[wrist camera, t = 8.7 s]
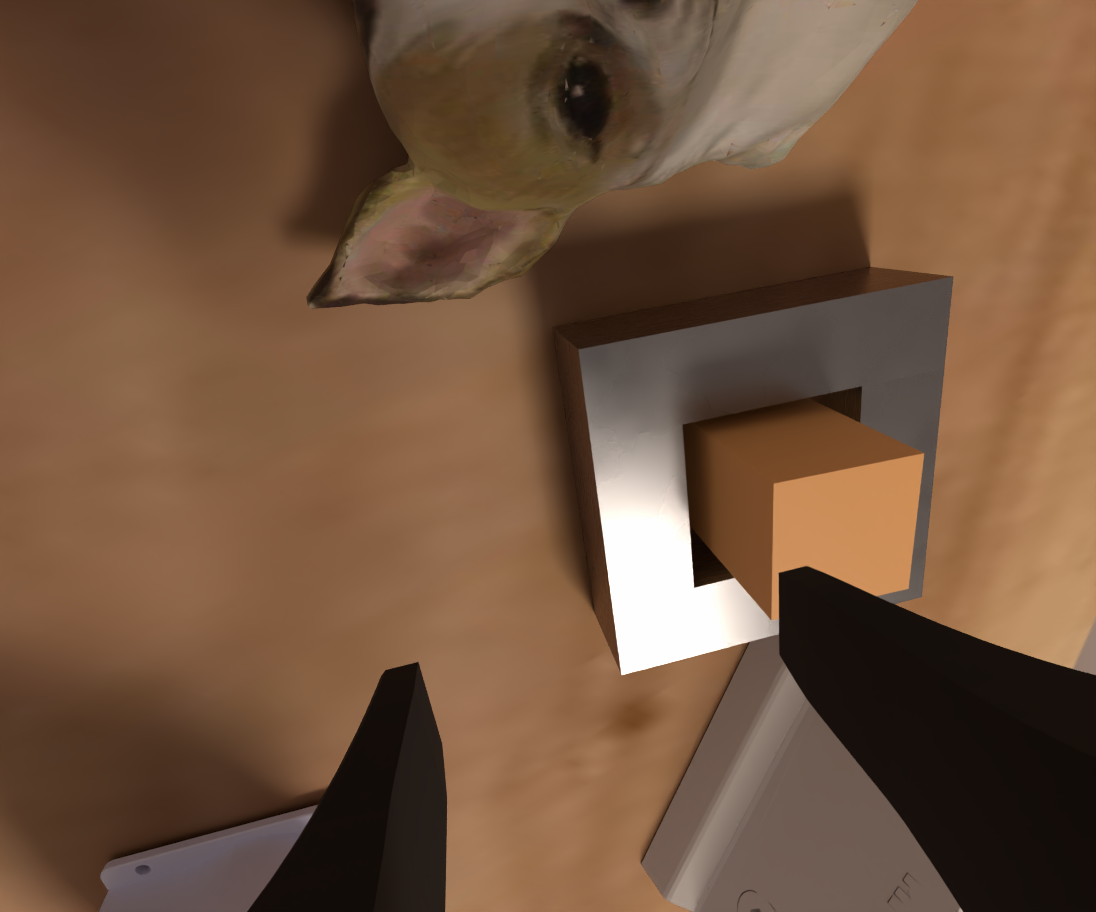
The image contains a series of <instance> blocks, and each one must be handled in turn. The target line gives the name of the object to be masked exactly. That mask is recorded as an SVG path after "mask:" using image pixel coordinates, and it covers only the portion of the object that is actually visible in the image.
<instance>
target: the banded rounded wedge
mask: <svg viewBox="0 0 1096 912" xmlns="http://www.w3.org/2000/svg"><path fill="white" fill-rule="evenodd" d="M641 865H642V866H643V868H644V869H645V871H646V872H647V874H648V875H649V877H650V878H651V880H652V881H653V883H654V884H655V886H656V887H657V889H658V890H659V892H660V893H661V895H662V896H663V897H664V898H665V899H666V900H667V901H669V902H671V903H673V904H676V905H678V906H680V907H683V908H685V909H688V910H690V911H692V912H963V911H962V909H961V908H960V906H959V905H958V903H957V902H956V900H955V898H954V897H953V895H952V894H951V892H950V891H949V889H948V887H947V886H946V884H945V883H944V881H943V880H942V878H941V876H940V875H939V873H938V872H937V870H936V869H935V867H934V866H933V864H932V863H931V862H930V860H929V859H928V857H927V856H926V854H925V853H924V851H923V850H922V848H921V847H920V845H919V844H918V842H917V841H916V839H915V838H914V836H913V835H912V833H911V832H910V830H909V829H908V827H907V826H906V824H905V823H904V821H903V820H902V819H901V817H900V816H899V815H898V813H897V812H896V811H895V809H894V808H893V807H892V805H891V804H890V803H889V801H888V800H887V799H886V797H885V796H884V795H883V794H882V792H881V791H880V790H879V789H878V787H877V786H876V785H875V784H874V783H873V781H872V780H871V779H870V778H869V776H868V775H867V774H866V773H865V771H864V770H863V769H862V768H861V766H860V765H859V764H858V763H857V762H856V760H855V759H854V758H853V757H852V755H851V754H850V753H849V752H848V750H847V749H846V748H845V747H844V745H843V744H842V743H841V742H840V741H839V739H838V738H837V737H836V736H835V734H834V733H833V732H832V731H831V729H830V728H829V727H828V726H827V724H826V723H825V722H824V721H823V719H822V718H821V717H820V716H819V714H818V713H817V712H816V711H815V709H814V708H813V707H812V705H811V704H810V703H809V702H808V700H807V699H806V697H805V696H804V694H803V693H802V691H801V689H800V688H799V686H798V685H797V683H796V682H795V680H794V678H793V677H792V675H791V673H790V672H789V670H788V668H787V667H786V665H785V663H784V662H783V660H782V658H781V657H780V655H779V634H777V635H773V636H770V637H766V638H762V639H758V640H754V641H750V643H749V645H748V647H747V649H746V651H745V653H744V655H743V657H742V659H741V661H740V663H739V665H738V667H737V669H736V671H735V673H734V676H733V678H732V680H731V682H730V684H729V686H728V688H727V690H726V692H725V694H724V696H723V698H722V700H721V702H720V704H719V706H718V708H717V710H716V712H715V714H714V716H713V718H712V720H711V722H710V725H709V727H708V729H707V731H706V733H705V735H704V737H703V739H702V741H701V743H700V745H699V747H698V749H697V751H696V753H695V755H694V757H693V759H692V761H691V763H690V765H689V767H688V769H687V771H686V774H685V776H684V778H683V780H682V782H681V784H680V786H679V788H678V790H677V792H676V794H675V796H674V798H673V800H672V802H671V804H670V806H669V808H668V810H667V812H666V814H665V816H664V818H663V820H662V823H661V825H660V827H659V829H658V831H657V833H656V835H655V837H654V839H653V841H652V843H651V845H650V847H649V849H648V851H647V853H646V855H645V857H644V859H643V861H642V863H641Z"/></svg>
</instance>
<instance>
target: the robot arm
mask: <svg viewBox="0 0 1096 912" xmlns="http://www.w3.org/2000/svg"><path fill="white" fill-rule="evenodd" d="M779 655H780V657H781V658H782V660H783V662H784V663H785V665H786V667H787V668H788V670H789V672H790V673H791V675H792V677H793V678H794V680H795V682H796V683H797V685H798V686H799V688H800V689H801V691H802V693H803V694H804V696H805V697H806V699H807V700H808V702H809V703H810V704H811V705H812V707H813V708H814V709H815V711H816V712H817V713H818V714H819V716H820V717H821V718H822V719H823V721H824V722H825V723H826V724H827V726H828V727H829V728H830V729H831V731H832V732H833V733H834V734H835V736H836V737H837V738H838V739H839V741H840V742H841V743H842V744H843V745H844V747H845V748H846V749H847V750H848V752H849V753H850V754H851V755H852V757H853V758H854V759H855V760H856V762H857V763H858V764H859V765H860V766H861V768H862V769H863V770H864V771H865V773H866V774H867V775H868V776H869V778H870V779H871V780H872V781H873V783H874V784H875V785H876V786H877V787H878V789H879V790H880V791H881V792H882V794H883V795H884V796H885V797H886V799H887V800H888V801H889V803H890V804H891V805H892V807H893V808H894V809H895V811H896V812H897V813H898V815H899V816H900V817H901V819H902V820H903V821H904V823H905V824H906V826H907V827H908V829H909V830H910V832H911V833H912V835H913V836H914V838H915V839H916V841H917V842H918V844H919V845H920V847H921V848H922V850H923V851H924V853H925V854H926V856H927V857H928V859H929V860H930V862H931V863H932V864H933V866H934V867H935V869H936V870H937V872H938V873H939V875H940V876H941V878H942V880H943V881H944V883H945V884H946V886H947V887H948V889H949V891H950V892H951V894H952V895H953V897H954V898H955V900H956V902H957V903H958V905H959V906H960V908H961V909H962V911H963V912H1096V675H1092V674H1089V673H1085V672H1081V671H1077V670H1074V669H1070V668H1067V667H1063V666H1060V665H1056V664H1053V663H1050V662H1046V661H1043V660H1040V659H1037V658H1034V657H1031V656H1028V655H1025V654H1022V653H1019V652H1015V651H1012V650H1009V649H1006V648H1003V647H1000V646H997V645H995V644H992V643H989V642H986V641H983V640H981V639H978V638H975V637H973V636H970V635H968V634H965V633H962V632H960V631H957V630H955V629H952V628H950V627H947V626H944V625H942V624H939V623H937V622H935V621H932V620H930V619H927V618H925V617H922V616H920V615H918V614H915V613H913V612H911V611H908V610H906V609H904V608H902V607H899V606H897V605H895V604H893V603H890V602H888V601H886V600H884V599H881V598H879V597H877V596H875V595H873V594H870V593H868V592H866V591H864V590H862V589H859V588H857V587H855V586H853V585H851V584H848V583H846V582H844V581H842V580H840V579H837V578H835V577H833V576H831V575H828V574H826V573H824V572H821V571H819V570H816V569H814V568H811V567H809V566H804V567H800V568H796V569H792V570H788V571H784V572H780V573H779ZM446 837H447V792H446V780H445V769H444V759H443V748H442V742H441V738H440V735H439V731H438V728H437V725H436V721H435V718H434V714H433V711H432V707H431V704H430V701H429V697H428V694H427V690H426V687H425V683H424V680H423V676H422V673H421V670H420V666H419V663H418V662H417V663H413V664H409V665H405V666H400V667H396V668H392V669H388V670H385V672H384V673H383V674H382V676H381V678H380V680H379V683H378V685H377V688H376V690H375V692H374V695H373V697H372V699H371V702H370V704H369V706H368V708H367V711H366V713H365V715H364V717H363V719H362V722H361V724H360V726H359V728H358V730H357V732H356V734H355V736H354V738H353V740H352V742H351V744H350V746H349V748H348V750H347V752H346V754H345V756H344V758H343V760H342V762H341V764H340V766H339V768H338V770H337V772H336V774H335V776H334V777H333V779H332V781H331V783H330V785H329V786H328V788H327V790H326V792H325V793H324V795H323V797H322V799H321V800H320V802H319V804H318V805H315V806H311V807H307V808H304V809H300V810H296V811H292V812H289V813H285V814H281V815H278V816H274V817H270V818H266V819H263V820H259V821H255V822H252V823H248V824H244V825H240V826H237V827H233V828H229V829H226V830H222V831H218V832H215V833H211V834H207V835H203V836H200V837H196V838H192V839H189V840H185V841H181V842H177V843H174V844H170V845H166V846H163V847H159V848H155V849H152V850H148V851H144V852H140V853H137V854H133V855H129V856H126V857H122V858H118V859H114V860H112V861H110V862H108V863H107V864H106V865H105V866H104V868H103V871H102V873H101V875H100V878H101V881H102V882H103V884H104V885H105V887H106V888H107V890H108V893H107V895H106V897H105V899H104V901H103V903H102V906H101V908H100V910H99V912H445V890H446Z"/></svg>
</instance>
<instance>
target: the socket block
mask: <svg viewBox="0 0 1096 912" xmlns="http://www.w3.org/2000/svg"><path fill="white" fill-rule="evenodd" d="M952 285H953V276H944V275H936V274H927V273H918V272H910V271H901V270H893V269H884V268H876V267H869V268H864V269H858V270H853V271H848V272H842V273H837V274H832V275H827V276H821V277H816V278H811V279H805V280H800V281H795V282H790V283H784V284H779V285H774V286H768V287H763V288H758V289H753V290H747V291H742V292H737V293H731V294H726V295H721V296H716V297H710V298H705V299H700V300H694V301H689V302H684V303H679V304H673V305H668V306H663V307H657V308H652V309H647V310H642V311H636V312H631V313H626V314H620V315H615V316H610V317H605V318H599V319H594V320H589V321H583V322H578V323H573V324H568V325H562V326H557V327H553V334H554V341H555V347H556V354H557V361H558V368H559V375H560V381H561V388H562V395H563V402H564V409H565V415H566V422H567V429H568V436H569V443H570V449H571V456H572V463H573V470H574V477H575V483H576V490H577V497H578V504H579V510H580V517H581V524H582V531H583V538H584V544H585V551H586V558H587V565H588V572H589V578H590V585H591V592H592V599H593V606H594V612H595V615H596V617H597V620H598V622H599V624H600V627H601V629H602V631H603V633H604V636H605V638H606V640H607V643H608V645H609V647H610V649H611V652H612V654H613V656H614V659H615V661H616V663H617V665H618V668H619V670H620V672H621V675H624V674H627V673H631V672H635V671H639V670H643V669H647V668H650V667H654V666H658V665H662V664H666V663H670V662H674V661H677V660H681V659H685V658H689V657H693V656H697V655H700V654H704V653H708V652H712V651H716V650H720V649H723V648H727V647H731V646H735V645H739V644H743V643H747V642H750V641H754V640H758V639H762V638H766V637H770V636H773V635H777V634H779V619H776V620H772V621H771V620H770V618H769V617H768V616H767V615H766V614H765V613H764V611H763V610H762V609H761V608H760V607H759V606H758V604H757V603H756V602H755V601H754V600H753V599H752V598H751V596H750V595H749V594H748V593H747V592H746V591H745V589H744V588H743V587H742V586H741V585H740V584H739V582H738V581H737V580H736V579H735V578H734V577H733V575H732V574H731V573H730V572H729V571H728V570H727V568H726V567H725V566H724V565H723V564H722V563H721V562H720V560H719V559H718V558H717V557H716V556H715V555H714V553H713V552H712V551H711V550H710V549H709V548H708V546H707V545H706V544H705V543H704V542H703V541H702V539H701V538H700V537H699V536H698V535H697V534H696V533H695V531H694V530H693V529H692V528H690V524H689V510H688V496H687V482H686V468H685V454H684V440H683V425H682V424H687V423H692V422H696V421H701V420H706V419H711V418H715V417H720V416H725V415H729V414H734V413H739V412H743V411H748V410H753V409H757V408H762V407H767V406H771V405H776V404H781V403H785V402H790V401H795V400H800V399H804V398H809V399H811V400H813V401H815V402H817V403H819V404H822V405H824V406H826V407H828V408H830V409H832V410H834V411H836V412H838V413H841V414H843V415H845V416H847V417H849V418H851V419H853V420H855V421H857V422H859V423H862V424H864V425H866V426H868V427H870V428H872V429H874V430H876V431H878V432H881V433H883V434H885V435H887V436H889V437H891V438H893V439H895V440H897V441H900V442H902V443H904V444H906V445H908V446H910V447H912V448H914V449H916V450H919V451H921V452H923V453H924V460H923V468H922V477H921V486H920V494H919V503H918V511H917V520H916V529H915V537H914V546H913V554H912V563H911V572H910V580H909V589H905V590H901V591H897V592H892V593H888V594H884V595H879V596H877V597H879V598H881V599H884V600H886V601H888V602H890V603H893V604H896V603H900V602H904V601H908V600H912V599H916V598H919V597H922V589H923V579H924V568H925V558H926V548H927V538H928V528H929V518H930V508H931V498H932V487H933V477H934V467H935V457H936V447H937V437H938V427H939V417H940V406H941V396H942V386H943V376H944V366H945V356H946V346H947V335H948V325H949V315H950V305H951V295H952Z"/></svg>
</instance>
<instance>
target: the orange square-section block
mask: <svg viewBox="0 0 1096 912" xmlns="http://www.w3.org/2000/svg"><path fill="white" fill-rule="evenodd" d="M682 425H683V440H684V454H685V468H686V482H687V496H688V510H689V524H690V527H691V528H692V529H693V530H694V531H695V533H696V534H697V535H698V536H699V537H700V538H701V539H702V541H703V542H704V543H705V544H706V545H707V546H708V548H709V549H710V550H711V551H712V552H713V553H714V555H715V556H716V557H717V558H718V559H719V560H720V562H721V563H722V564H723V565H724V566H725V567H726V568H727V570H728V571H729V572H730V573H731V574H732V575H733V577H734V578H735V579H736V580H737V581H738V582H739V584H740V585H741V586H742V587H743V588H744V589H745V591H746V592H747V593H748V594H749V595H750V596H751V598H752V599H753V600H754V601H755V602H756V603H757V604H758V606H759V607H760V608H761V609H762V610H763V611H764V613H765V614H766V615H767V616H768V617H769V618H770V620H771V621H772V620H776V619H779V573H780V572H784V571H788V570H792V569H796V568H800V567H804V566H809V567H811V568H814V569H816V570H819V571H821V572H824V573H826V574H828V575H831V576H833V577H835V578H837V579H840V580H842V581H844V582H846V583H848V584H851V585H853V586H855V587H857V588H859V589H862V590H864V591H866V592H868V593H870V594H873V595H875V596H879V595H884V594H888V593H892V592H897V591H901V590H905V589H909V580H910V572H911V563H912V554H913V546H914V537H915V529H916V520H917V511H918V503H919V494H920V486H921V477H922V468H923V460H924V453H923V452H921V451H919V450H916V449H914V448H912V447H910V446H908V445H906V444H904V443H902V442H900V441H897V440H895V439H893V438H891V437H889V436H887V435H885V434H883V433H881V432H878V431H876V430H874V429H872V428H870V427H868V426H866V425H864V424H862V423H859V422H857V421H855V420H853V419H851V418H849V417H847V416H845V415H843V414H841V413H838V412H836V411H834V410H832V409H830V408H828V407H826V406H824V405H822V404H819V403H817V402H815V401H813V400H811V399H809V398H804V399H800V400H795V401H790V402H785V403H781V404H776V405H771V406H767V407H762V408H757V409H753V410H748V411H743V412H739V413H734V414H729V415H725V416H720V417H715V418H711V419H706V420H701V421H696V422H692V423H687V424H682Z"/></svg>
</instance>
